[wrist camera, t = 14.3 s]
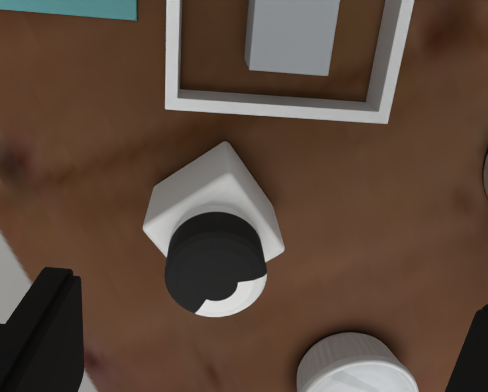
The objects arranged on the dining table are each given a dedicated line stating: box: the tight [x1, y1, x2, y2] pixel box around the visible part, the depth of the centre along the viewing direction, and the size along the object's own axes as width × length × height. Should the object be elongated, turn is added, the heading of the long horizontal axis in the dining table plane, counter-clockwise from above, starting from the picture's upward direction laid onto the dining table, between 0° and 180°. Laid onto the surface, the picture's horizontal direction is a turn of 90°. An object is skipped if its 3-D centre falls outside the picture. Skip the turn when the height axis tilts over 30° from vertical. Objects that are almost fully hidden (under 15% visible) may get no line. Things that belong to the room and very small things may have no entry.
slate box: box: [244, 0, 340, 76], centre depth 30 cm, size 5×5×5 cm
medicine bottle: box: [143, 141, 285, 317], centre depth 32 cm, size 7×7×12 cm
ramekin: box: [297, 332, 419, 392], centre depth 44 cm, size 11×11×5 cm
